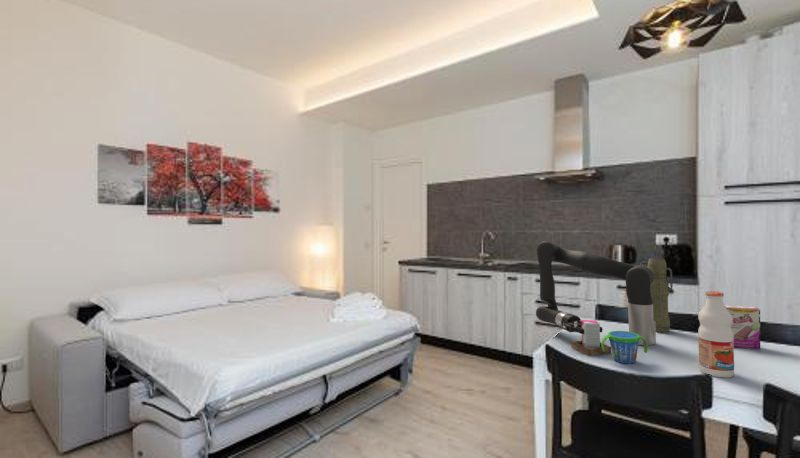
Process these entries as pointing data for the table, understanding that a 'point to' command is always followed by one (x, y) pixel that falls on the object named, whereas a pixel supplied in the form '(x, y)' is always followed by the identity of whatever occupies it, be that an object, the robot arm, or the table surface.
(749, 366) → the table surface
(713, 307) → the fruit juice
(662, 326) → the thermos
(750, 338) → the candy bar box
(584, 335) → the supplement box
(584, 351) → the wooden square frame
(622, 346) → the snack cup
